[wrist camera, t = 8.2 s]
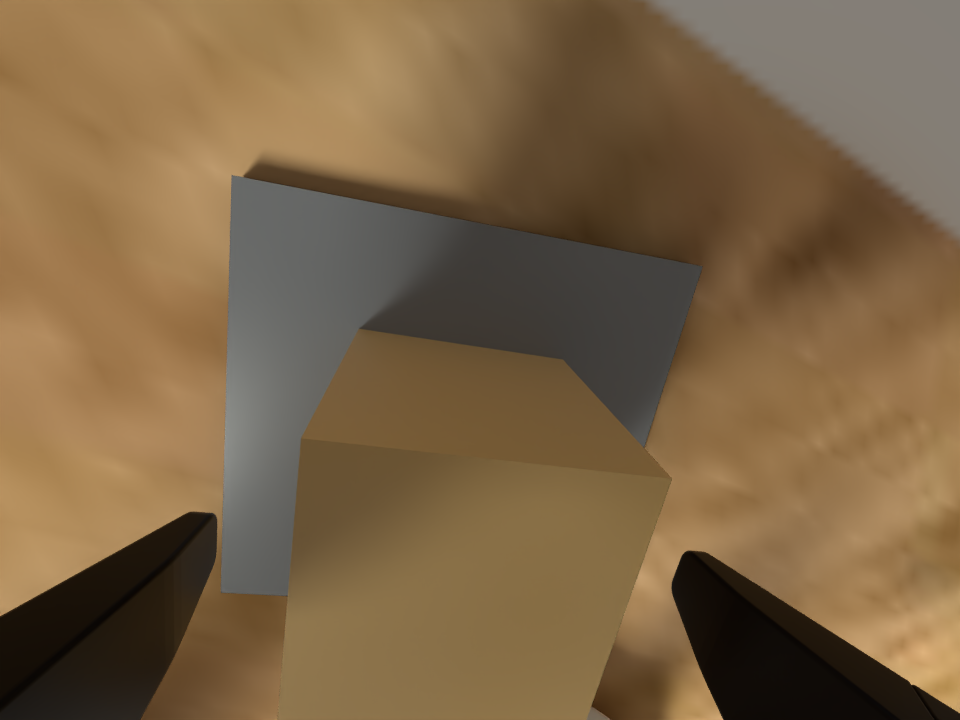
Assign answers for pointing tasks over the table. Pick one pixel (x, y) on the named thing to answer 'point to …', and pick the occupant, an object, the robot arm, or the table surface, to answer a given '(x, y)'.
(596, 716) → the flower in vase
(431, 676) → the tan wooden cube
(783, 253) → the table surface
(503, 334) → the plate
